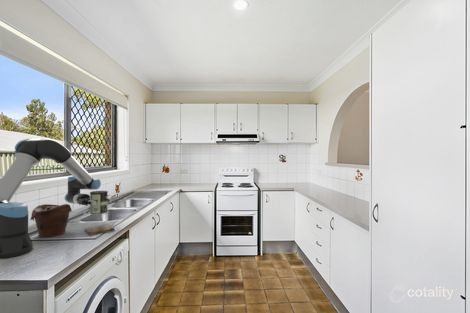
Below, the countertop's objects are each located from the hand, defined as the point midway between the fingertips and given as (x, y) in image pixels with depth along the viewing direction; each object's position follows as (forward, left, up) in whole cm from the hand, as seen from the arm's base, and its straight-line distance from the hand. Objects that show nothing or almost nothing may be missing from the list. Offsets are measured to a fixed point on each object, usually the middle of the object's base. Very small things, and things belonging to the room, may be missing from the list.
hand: (103, 201), depth 163 cm
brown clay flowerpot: (-27, +4, -16) cm, 32 cm away
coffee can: (-2, +4, -8) cm, 9 cm away
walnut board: (-4, -8, -16) cm, 18 cm away
